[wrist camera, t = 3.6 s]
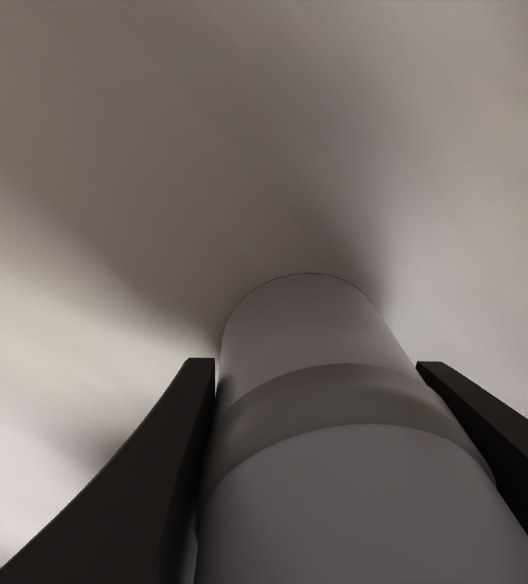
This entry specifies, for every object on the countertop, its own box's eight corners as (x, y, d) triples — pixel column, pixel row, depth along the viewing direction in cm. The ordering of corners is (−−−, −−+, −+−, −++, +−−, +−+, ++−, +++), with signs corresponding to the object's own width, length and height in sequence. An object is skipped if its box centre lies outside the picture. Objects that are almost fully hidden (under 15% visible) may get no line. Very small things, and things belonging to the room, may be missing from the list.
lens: (401, 272, 10) (723, 593, 3) (368, 409, 12) (515, 763, 5) (218, 267, 9) (146, 609, 3) (219, 408, 11) (181, 780, 5)
